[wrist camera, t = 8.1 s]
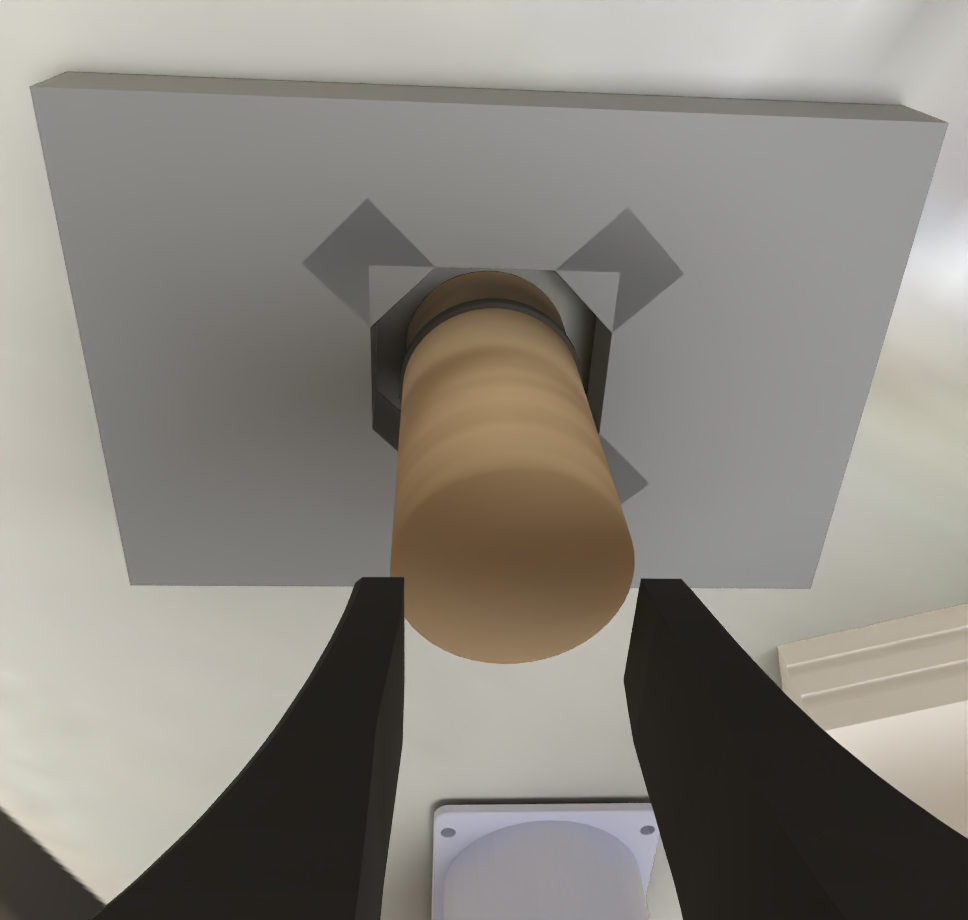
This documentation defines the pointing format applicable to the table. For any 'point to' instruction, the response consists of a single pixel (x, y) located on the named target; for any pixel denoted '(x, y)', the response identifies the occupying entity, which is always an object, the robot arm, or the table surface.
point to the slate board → (472, 244)
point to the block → (894, 702)
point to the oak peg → (502, 480)
